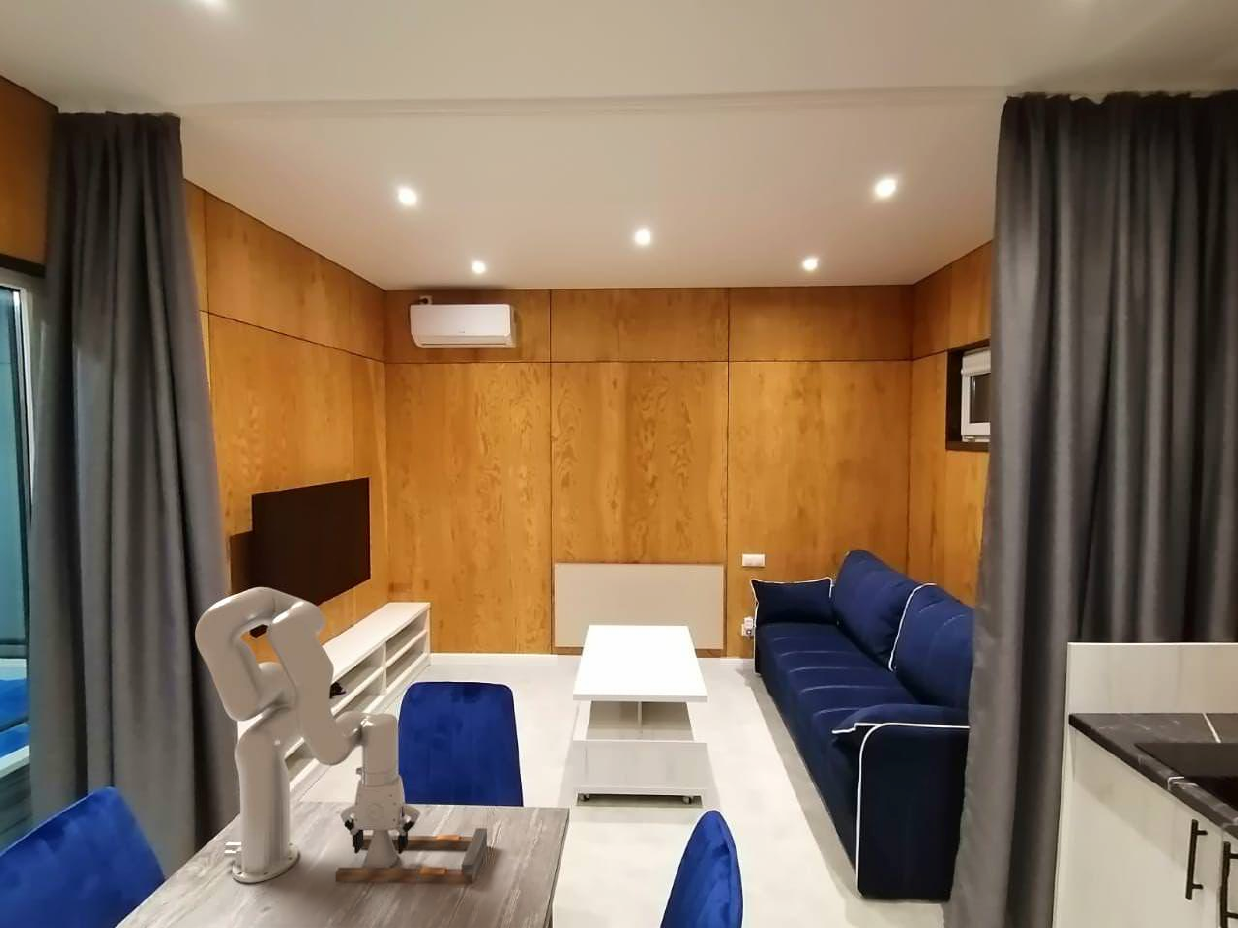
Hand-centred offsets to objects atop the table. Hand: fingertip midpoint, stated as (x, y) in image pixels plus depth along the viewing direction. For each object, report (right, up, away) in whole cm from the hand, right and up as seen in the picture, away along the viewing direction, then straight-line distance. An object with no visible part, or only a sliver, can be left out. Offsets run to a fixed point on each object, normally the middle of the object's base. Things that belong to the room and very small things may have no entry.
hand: (380, 849), depth 135 cm
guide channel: (+8, -3, 0) cm, 8 cm away
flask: (0, -3, 0) cm, 3 cm away
